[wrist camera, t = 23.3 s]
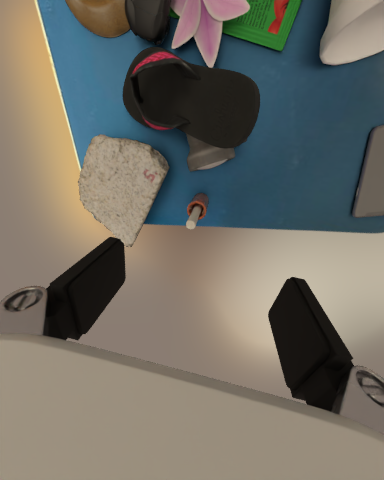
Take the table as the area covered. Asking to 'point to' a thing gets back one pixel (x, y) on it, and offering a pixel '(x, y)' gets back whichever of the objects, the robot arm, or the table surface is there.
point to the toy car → (149, 18)
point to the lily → (205, 23)
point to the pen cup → (199, 199)
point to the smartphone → (371, 178)
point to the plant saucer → (101, 16)
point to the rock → (121, 183)
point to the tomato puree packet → (262, 22)
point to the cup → (353, 31)
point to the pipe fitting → (206, 155)
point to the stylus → (194, 216)
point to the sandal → (191, 98)
